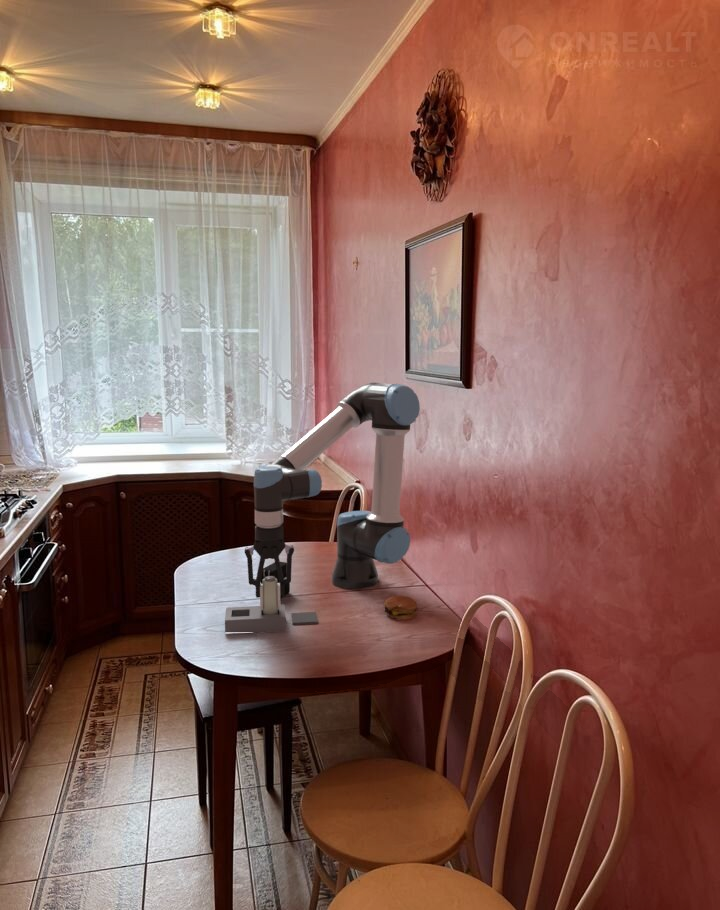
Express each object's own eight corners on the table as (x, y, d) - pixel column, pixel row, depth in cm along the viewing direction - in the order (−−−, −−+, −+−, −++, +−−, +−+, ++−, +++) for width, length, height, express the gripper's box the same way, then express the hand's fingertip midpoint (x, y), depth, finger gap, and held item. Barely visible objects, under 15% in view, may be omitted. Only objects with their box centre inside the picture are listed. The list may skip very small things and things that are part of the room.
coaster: (315, 613, 194) (315, 611, 194) (318, 623, 187) (318, 621, 187) (291, 615, 193) (291, 613, 193) (292, 624, 186) (292, 622, 186)
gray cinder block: (284, 618, 191) (284, 604, 190) (285, 631, 182) (285, 617, 181) (226, 621, 188) (226, 607, 188) (225, 634, 179) (224, 620, 179)
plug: (277, 622, 188) (277, 575, 186) (278, 627, 184) (277, 579, 182) (263, 622, 187) (262, 575, 185) (263, 628, 183) (262, 580, 181)
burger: (412, 607, 200) (413, 592, 199) (421, 619, 191) (422, 603, 190) (380, 609, 198) (380, 594, 197) (387, 622, 189) (387, 606, 188)
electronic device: (290, 593, 210) (289, 562, 208) (272, 604, 201) (272, 571, 199) (278, 591, 212) (278, 560, 210) (260, 601, 203) (260, 569, 201)
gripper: (300, 519, 186) (300, 601, 190) (237, 521, 183) (239, 604, 187) (301, 527, 179) (302, 611, 182) (236, 529, 176) (238, 614, 180)
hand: (270, 607), depth 185 cm, fingers closed on plug, 4 cm apart
